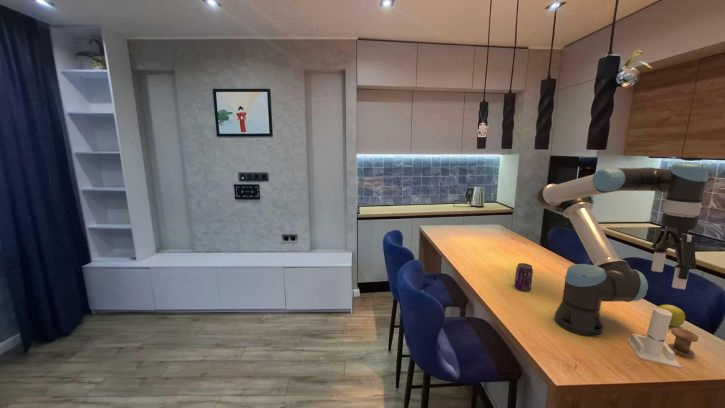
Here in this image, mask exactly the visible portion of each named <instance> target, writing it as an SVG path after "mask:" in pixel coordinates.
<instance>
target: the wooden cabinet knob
mask: <svg viewBox="0 0 725 408" xmlns="http://www.w3.org/2000/svg"><path fill="white" fill-rule="evenodd" d="M671 334H672V335H673V336H675V338H674V343H672V342H671V343H668V344H667V345H668V346H669V347H670V348H671V350H672V351H673V352H674V353H675V355H677V356H679V357H682V358H685V359H693V358H694V357H695V352H694V351H693V350H692V349H691V346H692V342H693V343H695V342H698V340H699V336H698V335H697V334H696V333H694V332H692V331H689V330H688V329H684V328H679V327H672V328H671Z"/></svg>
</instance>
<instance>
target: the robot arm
mask: <svg viewBox="0 0 725 408" xmlns="http://www.w3.org/2000/svg"><path fill="white" fill-rule="evenodd" d="M709 169H710V167H709V166H708V165H707V164H703V163H702V164H701V163H674V164H673V165H672V167H671V168H670V169H669V168H658V167H657V168H655V167H637V168H634V167H633V168H632V167H631V168H630V167H628V168H627V167H624V168H623V167H607V168H606V167H605V168H600V169H598V170H596V172H595V173H593V174H591V175H587V176H583V177H580V178H576V179H572V180H569V181H567V182H566V181H565V182H562V183H557V184H556V183H550V184H546V185H543V186H541V187H539V189H538V190H537V191H536V193H535V200H536V203H537V204H538V205H539V206H540V208H541V207H542V208H543V209H546V210H549V211H550V210H551V211H554V210H555V211H556V210H557V211H560V212H561V213H562V215H563V217H564V218H567V219H569V221H570V223H571V224H572V227H573V229H574V230H575V232H576V234H577V235H578V238H579V240H580V241H581V243H582V245H583V248H584V249H585V251H586V253H587V255H588V256H589V259H590V261H591V262H592V264H586V263H578V264H573V265H571V266H569V267H567V270H566V274H565V277H564V287H563V292H562V299H561V300H562V301H561V303H559V306H558V307H557V309H556V310H555V312H554V320H555V323H556V324H558V325H559V326H560V327H561V328H562V329H565V330H567V331H568V332H570V333H573V334H577V335H579V336H580V335H581V336H585V337H598V336H602V334H603V331H604V324H603V321H602V316H601V306H602V302H607V303H608V302H625V303H630V302H636V301H641V300H642V299H644V297H646V295H647V291H648V288H649V284H648V280H647V278H646V277H645V274H644V273H643V272H641V271H639V270H637V269H635V268H634V269H632V268H631V267H630V266H629V265H630V264H629V263H628V262H627V261H626V260H623V259H620V257H619V255H618V254H617V252H616V251H615V249H614V247H613V246H612V244H611V242H610V241H609V239H608V237H607V236H606V234H605V232H604V230H603V229H602V227H601V226H600V224H599V222H598V220H597V219H596V217H595V215H594V213H593V212H592V209H593V205H594V203H595V199H594V197H595V196H596V195H603V194H609V193H614V192H625V191H626V192H627V191H628V192H631V191H632V192H635V191H636V192H643V191H644V192H657V193H665V194H666V197H665V200H664V205H663V210H662V211H663V214H662V217H661V222H660V224H661V225H660V227H659V231H658V232H657V235H656V236H655V239H654V241H653V242H652V243H651V248H652V249H653V251H654V254H653V258H652V262H651V266H650V267H651V269H650V271H652V272H658V273H663V272H664V267H665V263H666V262H665V261H666V257H667V254H668V249H670V247H673V248H674V251H675V256H676V261H677V264H676V265H675V266H674V274H673V278H672V284H671V288H674V289H679V290H686V287H687V282H688V280H689V279H688V278H689V274H690V270H696V269H697V262H696V259H697V257H696V247H695V246H696V244H695V241H696V235H693V234H689V231H690V230H696V229H697V226H698V223H699V218H698V216H699V215H700V212H701V209H702V208H703V205H702V203H703V197H704V194H705V190H706V188H707V187H706V186H707V183H708V181H709V171H710V170H709Z"/></svg>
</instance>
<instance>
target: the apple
mask: <svg viewBox="0 0 725 408" xmlns="http://www.w3.org/2000/svg"><path fill="white" fill-rule="evenodd" d="M655 308H662V309H665V310H668V311H670V312H671V313H672V318H671V321H670V325H669V327H679V326H682V325H683V324H684V323H685V320H686V315H685V312H684V311H683V310H682V309H681V308H679V307H677V306H675V305H672V304H661V305H658V306H656V307H655Z"/></svg>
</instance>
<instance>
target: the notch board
mask: <svg viewBox="0 0 725 408" xmlns="http://www.w3.org/2000/svg"><path fill="white" fill-rule="evenodd" d="M646 336H647V335H646ZM646 336H645V335H641V334H637V333H631V336H630V339H629V338H627V342H628V344H629V345H630V347H631V348H632V350H633V351H634V353H635V354H636V355H637V357H638V359H639V360H644V361H647V362H651V363H656V364H657V363H658V364H660V365H661V364H662V365H665V366H669V367H674V368H678V369H682V366H681V365H680V363H679V362H678V361H677V360H676V359H675V355H676V354H675V353H674V352H673V351H672V350H671V348H670V347H669V346H668V345H669V344H667V343H666V341H665V342H664V345H663V349H662V352H661V355H653V354H650V353H648V352H647V351H645V348H646V347H645V346H644V343H645V339H646Z"/></svg>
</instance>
